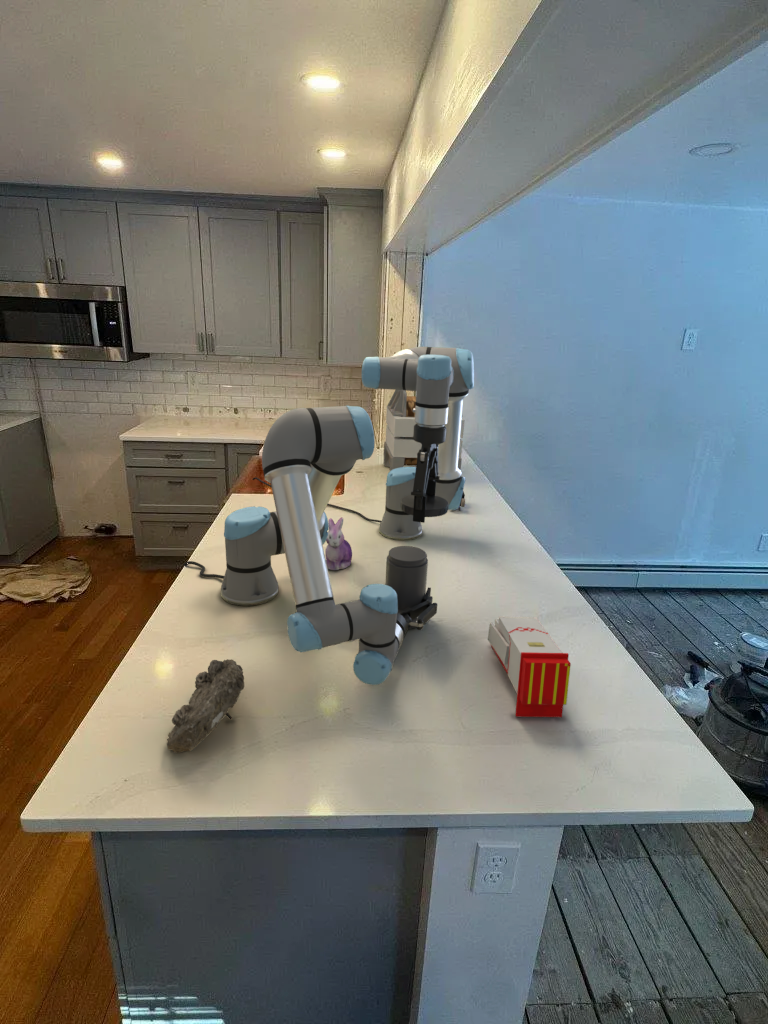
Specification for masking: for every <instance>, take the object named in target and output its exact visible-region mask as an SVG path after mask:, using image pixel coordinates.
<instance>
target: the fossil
mask: <svg viewBox="0 0 768 1024" xmlns="http://www.w3.org/2000/svg"><path fill="white" fill-rule="evenodd" d="M243 670H244V669H243V667H242V665H240V664H237V662H236V661H235V660H234V659H232V658H231V659H227V658H226V659H224V660H223V661H222V660H217V659H212V660H211V661H210V663H209V665H208V666H207V671H201V672H199V673H198V674H197V675H196V676H195V680H194V684H195V685H194V687H195V689H194V690H193V693H192V694H191V697H190V698H189V700H188V704H184V705H182V706H181V707H180V709H177V710H176V711H175V713H174V715H173V716H172V718H171V723H172V724H173V727H172V730H171V731H170V732H168V734H167V738H166V741H167V742H166V745H167V749H168V750H169V751H173V752H174V753H176V754H178V753H182V752H188V751H189V752H192V751H193V750H195V748H196V747H197V746H199V744H200V743H201V742H203V741H204V740H205V739H206V738H207V737H208V736H209V735H210V734H211V733H212V732H214V730H215V729H217V727H218V726H219V724H220V722H221V721H222V720H223V719H224V718H225V716H226V717H227V719H229V720H233V717H232V715H230V714H229V710H230V709H231V708H234V706H235V704H236V703H237V702H238V699H239V697H240V695H241V693H242V691H243V690H245V689H244V688H245V675H244V671H243Z"/></svg>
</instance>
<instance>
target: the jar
mask: <svg viewBox="0 0 768 1024" xmlns="http://www.w3.org/2000/svg"><path fill="white" fill-rule="evenodd" d="M385 559H386V560H385V580H384V581H385V582H384V585H387V586H390V587H391V588H392V589H394V590H395V591H396V593H397V600H398V610H404V609H406V608H412V607H414V606H416V605H418V604H420V603H422V602H423V599H424V596H425V594H426V591H427V578H428V566H429V565H428V564H429V560H428V553H427V552H426V551H425V550H424V549H422V548H420V547H417V546H411V545H397V546H394V547H391V549H389V550H388V554H387V556H386V558H385ZM415 619H416V618H415ZM415 619H413V620H415ZM416 628H417V626H411V627H409V628H408V629H407V630H411V629H416Z"/></svg>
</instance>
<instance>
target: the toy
mask: <svg viewBox="0 0 768 1024" xmlns="http://www.w3.org/2000/svg"><path fill="white" fill-rule="evenodd" d="M488 625H489V627H488V633H487V641H488V642H489V644H490V646H491V647H490V648H491V649H492V650H493V652H494V654H495V656H496V658H497V659H498V660H499V662H500V664H501V666H502V668H503V669H504V671H505V673H506V674H507V676H508V678H509V680H510V682H511V685H512V686H513V689H514V690H515V693H516V704H515V717H516V718H517V717H518V718H519V717H520V718H521V717H522V718H563V710H564V705H567V701H568V692H569V685H570V684H569V683H570V676H571V675H570V674H571V666H572V664H571V661H570V660H569V655H570V654H569V653H568V652H563V651H562V649H561V648H560V647H559V646H558V644H557V643H556V642H555V640H554V639H553V638H552V636H551V635H550V634H549V632H548V631H547V629H546V628H545V627H544V626H543V624H542V622H541V621H540V620H539V619H538V618H537V616H498V618H496V619H494V623H493V622H489V624H488Z"/></svg>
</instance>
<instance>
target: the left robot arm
mask: <svg viewBox="0 0 768 1024" xmlns="http://www.w3.org/2000/svg"><path fill="white" fill-rule="evenodd" d="M375 444H376V443H375V432H374V425H373V422H372V420H371V417H370V415H369V413H368V412H367V411H366V409H364V408H363V407H361V406H359V405H358V406H357V405H347V404H346V405H338V406H321V407H320V406H319V407H297V408H292V409H290V410H288V411H286V412H285V413H282V414H281V415H280V416H279V417H278V418H277V419H275V421H274V422H273V424H271V426H270V428H269V430H268V433H267V435H266V436H265V439H264V443H263V447H262V452H261V453H262V454H261V466H262V472H263V477H264V480H265V481H266V482H268V484H270V485H271V487H270V488H271V491H272V496H273V503H274V507H275V511H270V510H269V509H268V508H266V507H264V506H255V505H254V506H246V507H243V508H239V509H236V510H234V511H232V512H231V513H230V514H229V515H227V517H226V518H225V520H224V527H223V528H224V529H223V531H224V532H223V537H224V546H225V561H226V569H225V572H224V575H222V574H216V573H205V571H206V567H205V566H204V565H203V564H201V563H199V562H198V561H197V562H196V561H192V560H188V561H186V562H184V563H183V567H184V566H185V567H186V566H188V565H194V566H197V567H198V568H200V569H201V570H200V571H199V576H200V577H202V578H216V579H222V582H221V586H220V596H221V598H222V599H223V601H224V602H226V603H228V604H231V605H236V606H241V607H243V606H244V607H249V606H257V605H262V604H265V603H268V602H270V601H272V600H273V599H275V598H276V597H277V595H278V594H279V582H278V579H277V577H276V575H275V572H274V569H273V567H272V557H273V556H278V555H285V560H286V565H287V570H288V575H289V580H290V585H291V590H292V594H293V600H294V604H295V610H296V611H295V612H294V613H291V614H290V615H289V616H288V617H287V620H286V625H287V636H288V640H289V642H290V645H291V646H292V648H293V649H294V650H295V651H296V652H298V653H306V652H311V651H317V650H318V651H319V650H322V649H324V648H328V647H331V646H332V647H333V646H335V645H339V644H342V643H347V642H352V641H357V640H358V652H357V653H356V655H355V656H354V661H353V665H352V670H353V673H354V675H355V676H356V678H357V679H358V680H359V681H360V682H362V683H363V684H365V685H370V686H377V685H381V684H382V683H384V682H385V681H386V680H387V678H388V677H389V675H390V673H391V672H392V670H393V666H394V663H395V661H396V659H397V656H398V653H399V652H400V651H399V650H400V648H401V646H402V644H403V642H404V639H405V637H406V634H407V632H408V630H409V629H408V628H409V627H411V626H417V627H416V628H417V630H418V631H423V628H424V625H426V624H427V623H428V622H429V621H430V620H431V619H432V618H433V617H434V616H435V615H436V614H437V612H438V603H437V602H433V598H434V597H433V596H431V594H432V593H431V592H432V587H429V586H428V587H427V588H426V593H425V596H424V599H423V602H422V603H420V604H418V605H416V606H414V607H412V608H406V609H404V610H398V600H397V593H396V591H395V590H394V589H392V588H391V587H390V586H387V585H385V583H384V584H383V583H371V584H368V585H366V586H364V587H362V589H361V590H360V594H359V599H355V600H350V601H345V602H342V603H337V604H336V602H335V599H334V593H333V588H332V584H331V578H330V573H329V569H327V564H326V556H325V551H324V546H323V545H324V544H325V543H326V539H327V536H328V531H329V525H328V521H329V518H328V516H327V513H326V512H325V511H326V508H327V507H328V505H327V504H329V502H330V500H331V498H332V496H333V494H334V492H335V490H336V488H337V485H338V484H339V482H340V480H341V478H342V476H344V475H347V474H348V473H350V472H351V471H352V470H353V468H354V467H355V465H356V463H357V461H358V460H362V461H365V460H368V459H369V458H371V457H372V455H373V454H374V450H375ZM187 563H188V564H187ZM415 618H416V619H415ZM413 619H415V620H413Z"/></svg>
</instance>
